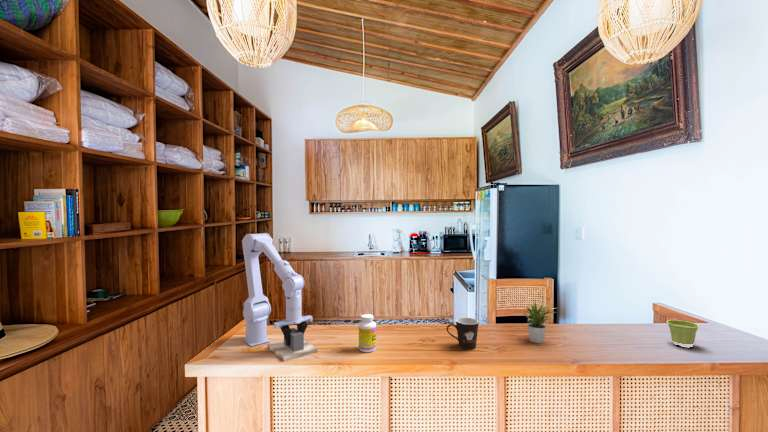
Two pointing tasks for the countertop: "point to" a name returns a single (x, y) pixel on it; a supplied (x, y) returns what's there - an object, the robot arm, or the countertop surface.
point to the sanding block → (295, 341)
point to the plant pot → (682, 331)
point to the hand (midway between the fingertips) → (293, 343)
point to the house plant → (537, 322)
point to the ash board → (288, 354)
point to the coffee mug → (466, 332)
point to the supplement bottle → (367, 333)
